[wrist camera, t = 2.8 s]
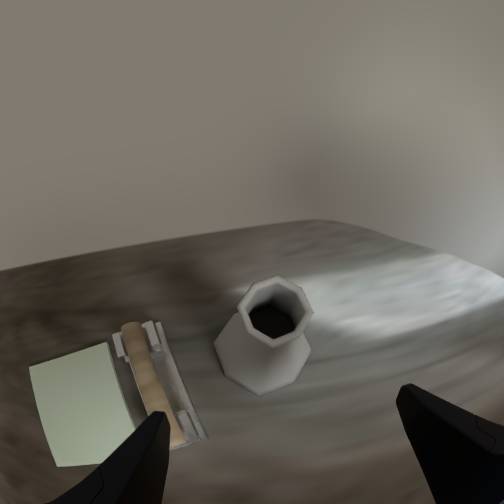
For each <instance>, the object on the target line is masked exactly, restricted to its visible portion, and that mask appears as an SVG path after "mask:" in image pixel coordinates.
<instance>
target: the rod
mask: <svg viewBox="0 0 504 504" xmlns="http://www.w3.org/2000/svg"><path fill="white" fill-rule="evenodd" d="M121 331H122V335H123V338H124V342H125V346H126V349H127V353H128V356H129V359H130V363H131V366H132V369H133V372H134V375H135V378H136V381H137V384H138V387H139V390H140V392H141V395H142V398H143V401H144V403H145V406H146V408H147V411H148V413H149V415H150V414H151V413H152V412H153V411H164V412H165V413H166V415H167V418H168V420H169V423H170V427H171V433H170V447H173V446H177V445H180V444H183V443H185V442H186V441H185V439H184V437H183V435H182V432H181V430H180V428H179V426H178V424H177V421H176V419H175V417H174V414H173V412H172V410H171V407H170V405H169V402H168V400H167V397H166V395H165V392H164V390H163V387H162V385H161V382H160V379H159V377H158V374H157V371H156V368H155V365H154V363H153V360H152V357H151V354H150V351H149V348H148V344H147V341H146V338H145V335H144V332H143V328H142V325H141V323H140V322H130V323H126V324H124V325H123V326H122V327H121Z"/></svg>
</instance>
